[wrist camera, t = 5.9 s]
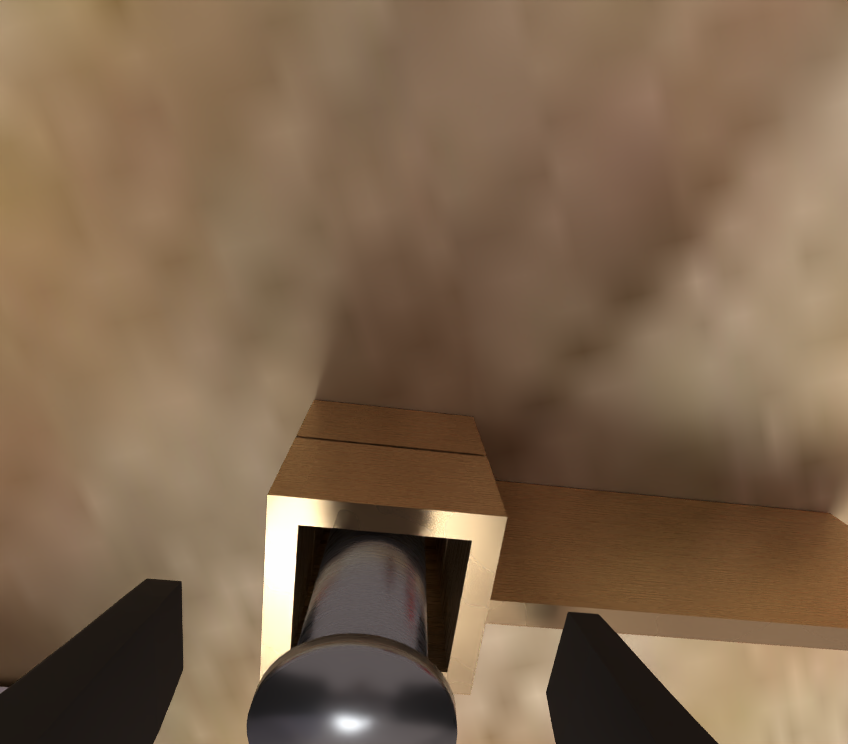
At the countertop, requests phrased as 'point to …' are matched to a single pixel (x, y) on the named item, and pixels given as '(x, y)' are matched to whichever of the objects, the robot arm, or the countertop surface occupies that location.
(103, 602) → the countertop surface
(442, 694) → the hinge pin
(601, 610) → the hinge leaves
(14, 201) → the countertop surface
